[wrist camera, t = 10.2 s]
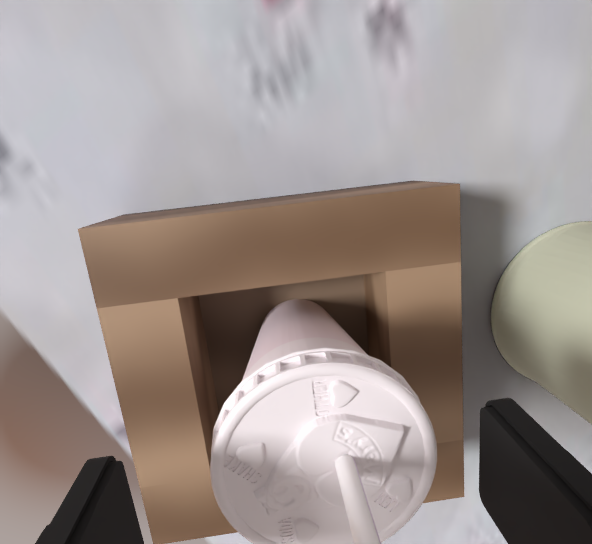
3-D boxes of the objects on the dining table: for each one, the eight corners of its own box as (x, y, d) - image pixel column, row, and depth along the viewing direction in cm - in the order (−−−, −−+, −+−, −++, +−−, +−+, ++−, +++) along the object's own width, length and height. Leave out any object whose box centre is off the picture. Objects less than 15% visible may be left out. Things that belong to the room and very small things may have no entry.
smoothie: (382, 354, 21) (592, 676, 8) (274, 413, 22) (293, 822, 8) (322, 247, 20) (454, 416, 6) (207, 313, 20) (91, 612, 6)
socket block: (123, 214, 20) (77, 228, 15) (412, 180, 20) (459, 183, 15) (176, 466, 23) (153, 545, 18) (423, 430, 24) (464, 496, 19)
